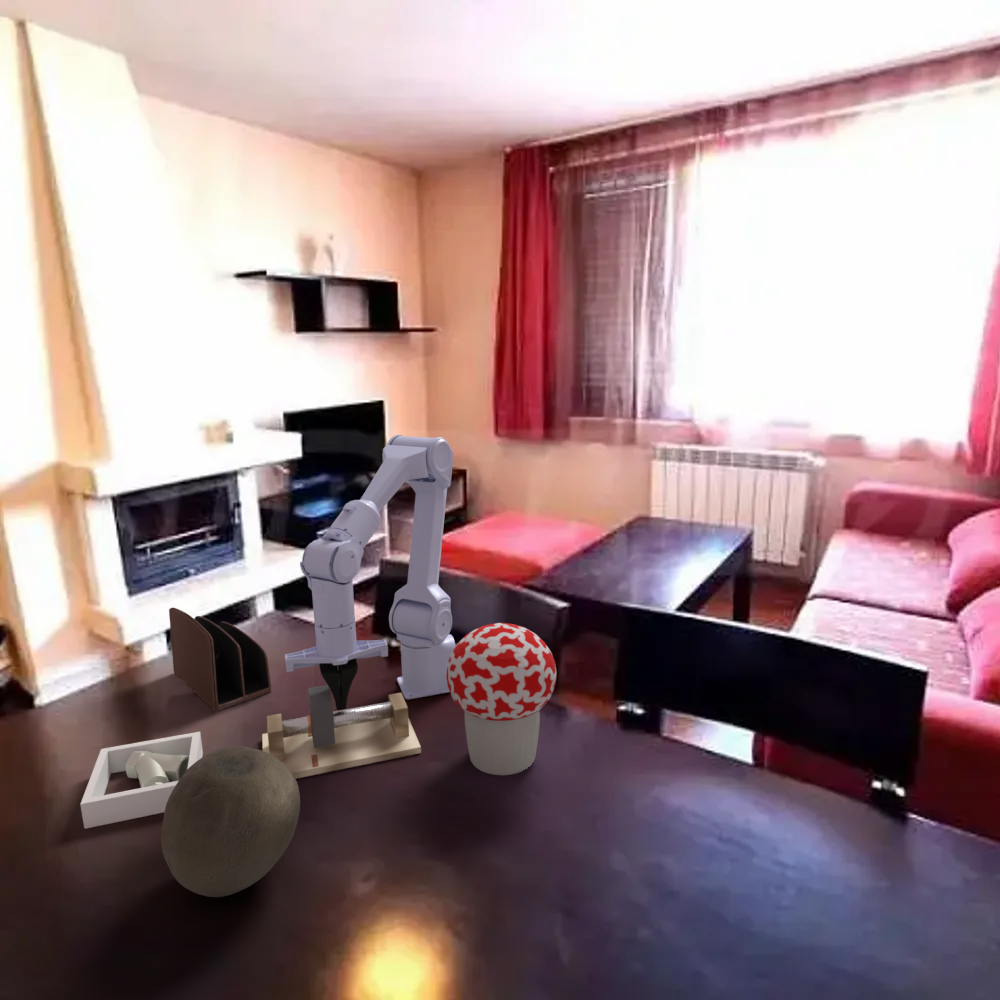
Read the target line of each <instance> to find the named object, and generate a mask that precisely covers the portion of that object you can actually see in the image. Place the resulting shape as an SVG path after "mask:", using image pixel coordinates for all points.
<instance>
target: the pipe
mask: <svg viewBox="0 0 1000 1000" xmlns="http://www.w3.org/2000/svg"><path fill="white" fill-rule="evenodd" d="M388 718H393V706H392V702H391V701H390V702H389V701H386V702H381V703H380V702H379V703H373V704H369V705H363V706H357V707H356V706H355V707H351V708H346V709H344V710H339V711H337V710H336V711H335V710H333V719H334V728H339V727H345V726H350V725H355V724H361V723H366V722H372V721H377V720H382V719H388ZM282 730H283V738H285V737H291V736H296V735H302V734H307V733H309V734H311V733H313V731H312V719H311V715H310V714H308V715H305V716H300V717H295V718H290V719H284V720H282Z"/></svg>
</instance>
